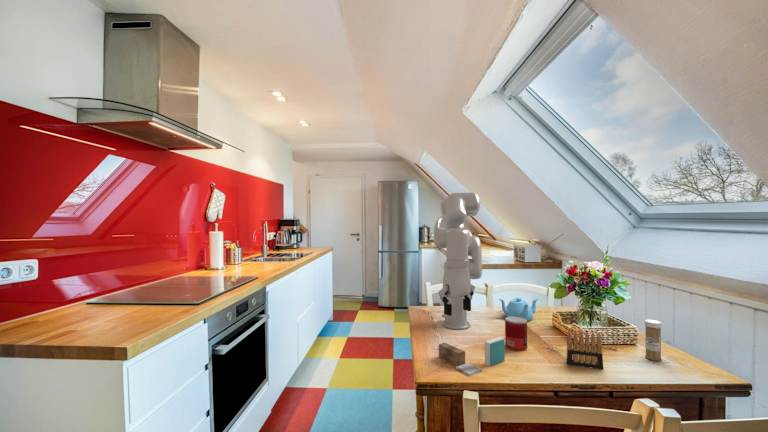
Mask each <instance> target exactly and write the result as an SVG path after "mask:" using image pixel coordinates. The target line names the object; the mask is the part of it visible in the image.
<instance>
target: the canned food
mask: <svg viewBox="0 0 768 432" xmlns="http://www.w3.org/2000/svg"><path fill="white" fill-rule="evenodd" d="M504 321H505V322H504V331H505V332H504V333H505V334H504V335H505V337H504V345H505V347H506V348H507V349H509V350H511V351H515V352H523V351H527V348H528V321H527V320H526V319H524V318H521V317H507V316H506V317H505V318H504Z"/></svg>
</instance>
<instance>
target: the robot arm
mask: <svg viewBox="0 0 768 432" xmlns="http://www.w3.org/2000/svg"><path fill="white" fill-rule="evenodd" d="M480 208H481V199H480V196H479V195H478V194H477V193H475V192H455V193H450V194H449V195H447V197H446V199H443V200H441V203H440V212H441V216H440V217H438V219H437V220H436V222H435V223H434V229H433V244H434V245H435V247H437V248H439V249H446V250H445V251H446V252H445V254H446V255H445V257H446V258H445V259H446V260H445V261H444V264H443V271H444V272H443V279H442V288H441V289H439V291H438V295H439V298H440V300H441V301H442V303H443V314H441V317H442V318H444V320H443V321H442V325H443V327H445V328H446V329H452V330H467V329H469V328H470V327H471V322H469V321H468V315H467V312H471V311H472V300H473V295H474V294H475V293H474V291H475V288H476V286H475V285H473V284H471V283H472V281H471V280H479V279H481V278H482V275H483V262H482V261H483V259H482V258H483V257H482V253H483V252H482V242H481V238H480V237H478V236H476V235H473V234H472V232H471V231H470V230H469V229H468V228H465V225H464V224H465V222H466V221H467V218H468V217H475V216H477V215H478V213H479V211H480ZM469 257H471V258H469Z"/></svg>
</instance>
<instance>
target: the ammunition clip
mask: <svg viewBox="0 0 768 432" xmlns="http://www.w3.org/2000/svg"><path fill="white" fill-rule="evenodd" d="M590 336H591V337H590ZM572 338H573V339H572ZM584 338H585V339H584ZM578 339H579V340H578ZM603 359H604V357H603V345H602V335H601V333H600V332H598V333H597V336H595V332H594V331H592V332H591V335H589V332H588V330H587V331H586V332H585V336H584V333H583V331H582V330H580V331H579V338H578V332H577V329H575V330H574V331H573V337H572V332H571V329H568V331H567V339H566V365H568V366H575V367H582V366H584V367H583V368H589V367H592V368H591V369H596V368H598V369H599V370H604V360H603ZM598 369H597V370H598Z"/></svg>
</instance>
